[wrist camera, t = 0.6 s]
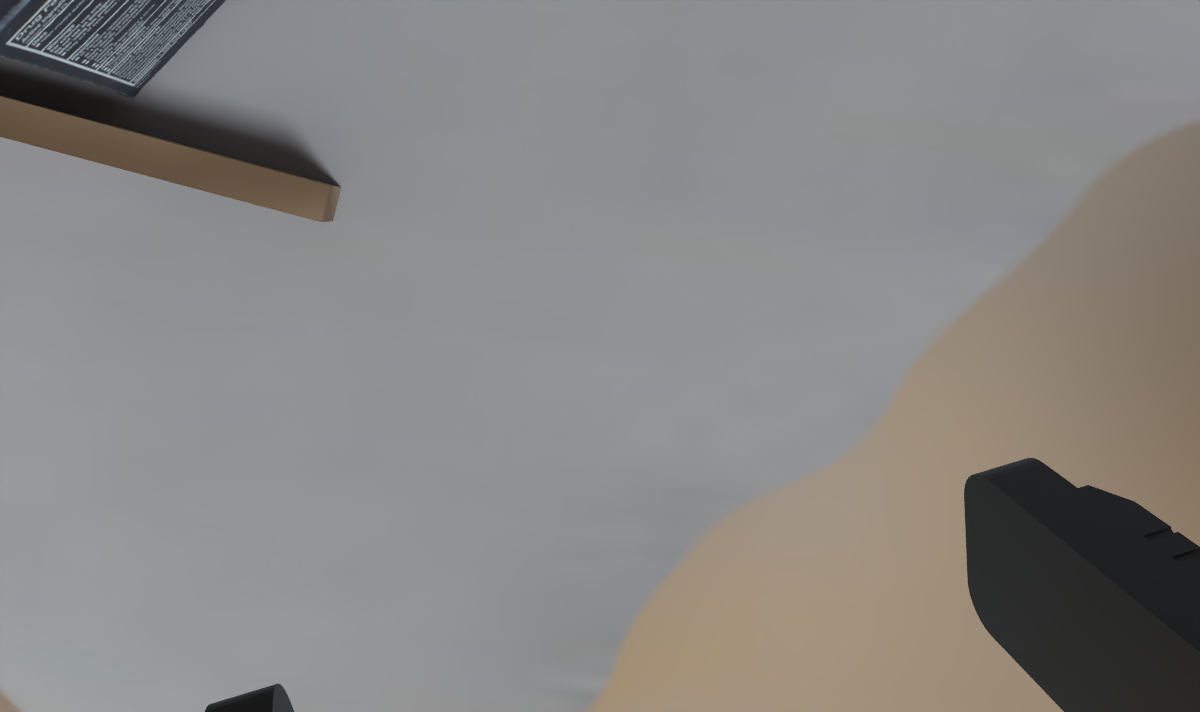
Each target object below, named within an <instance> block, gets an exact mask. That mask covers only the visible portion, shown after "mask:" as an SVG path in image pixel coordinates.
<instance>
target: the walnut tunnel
mask: <svg viewBox="0 0 1200 712" xmlns="http://www.w3.org/2000/svg"><path fill="white" fill-rule="evenodd" d="M0 137H4V138H7V139H11V140H15V141H19V142H22V143H26V144H30V145H34V146H37V147H41V148H45V149H49V150H52V151H56V152H60V153H64V154H67V155H71V156H75V157H79V158H82V159H86V160H90V161H94V162H97V163H101V164H105V165H109V166H113V167H116V168H120V169H124V170H128V171H131V172H135V173H139V174H143V175H146V176H150V177H154V178H158V179H161V180H165V181H169V182H173V183H176V184H180V185H184V186H188V187H191V188H195V189H199V190H203V191H206V192H210V193H214V194H218V195H222V196H225V197H229V198H233V199H237V200H240V201H244V202H248V203H252V204H255V205H259V206H263V207H267V208H270V209H274V210H278V211H282V212H285V213H289V214H293V215H297V216H300V217H304V218H308V219H312V220H315V221H319V222H327V221H333V218H334V214H335V210H336V206H337V202H338V197H339V193H340V189H341V187H339V186H335V185H331V184H328V183H324V182H320V181H317V180H313V179H309V178H306V177H302V176H298V175H295V174H291V173H287V172H284V171H280V170H276V169H272V168H269V167H265V166H261V165H258V164H254V163H250V162H247V161H243V160H239V159H236V158H232V157H228V156H225V155H221V154H217V153H214V152H210V151H206V150H202V149H199V148H195V147H191V146H188V145H184V144H180V143H177V142H173V141H169V140H166V139H162V138H158V137H155V136H151V135H147V134H143V133H140V132H136V131H132V130H129V129H125V128H121V127H118V126H114V125H110V124H107V123H103V122H99V121H96V120H92V119H88V118H84V117H81V116H77V115H73V114H70V113H66V112H62V111H59V110H55V109H51V108H48V107H44V106H40V105H37V104H33V103H29V102H26V101H22V100H18V99H14V98H11V97H7V96H3V95H0Z"/></svg>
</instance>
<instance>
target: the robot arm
mask: <svg viewBox="0 0 1200 712" xmlns="http://www.w3.org/2000/svg"><path fill="white" fill-rule="evenodd" d="M964 501H965V525H966V548H967V549H966V550H967V573H968V587H969V591H970V596H971V599H972V602H973V605H974V607H975V610H976V612H977V614H978V616H979V618H980V620H981V622H982V623H983V625H984V627H985V628H986V629H987V631H988V632H989V633H990V634H991V636H992V637H993V638H994V639H995V640H996V641H997V642H998V643H999V644H1000V645H1001V646H1002V647H1003V648H1004V649H1005V650H1006V651H1007V652H1008V653H1009V654H1010V655H1011V656H1012V658H1013V659H1014V660H1015V661H1016V662H1017V663H1018V664H1019V665H1020V666H1021V667H1022V668H1023V669H1024V670H1025V671H1026V672H1027V673H1028V674H1029V675H1030V677H1032V679H1033V680H1034V681H1035V682H1036V683H1037V684H1038V685H1039V686H1040V687H1041V688H1042V689H1043V690H1044V691H1045V692H1046V693H1047V694H1048V695H1049V696H1050V697H1051V698H1052V700H1053V701H1054V702H1055V703H1056V704H1057V705H1058V706H1059V707H1060V708H1061V709H1062V710H1063V711H1064V712H1200V547H1199V546H1198V545H1196V544H1195V543H1193V542H1192V541H1190V540H1189V539H1188V538H1186V537H1185V536H1183V535H1182V534H1180V533H1179V532H1177V533H1173V532H1172V530H1171V527H1170V526H1169V525H1167V524H1166V523H1165V522H1163V521H1162V520H1160V519H1159V518H1157V517H1156V516H1155V515H1153V514H1152V513H1150V512H1149V511H1147V510H1146V509H1144V508H1143V507H1142V506H1140V505H1139V504H1137V503H1135V502H1134V501H1131V500H1128V499H1125V498H1123V497H1120V496H1117V495H1114V494H1112V493H1108V492H1106V491H1103V490H1100V489H1098V488H1095V487H1092V486H1089V485H1087V486H1084V487H1081V488H1077V487H1075V486H1074V485H1072V484H1071V483H1070V482H1068V481H1067V480H1066V479H1064V478H1063V477H1062V476H1060V475H1059V474H1058V473H1056V472H1055V471H1053V470H1052V469H1051V468H1049V467H1048V466H1047V465H1045V464H1044V463H1042V462H1041V461H1039V460H1037V459H1034V458H1027V459H1023V460H1020V461H1017V462H1013V463H1010V464H1007V465H1003V466H1000V467H997V468H994V469H990V470H987V471H984V472H980V473H977V474H974V475H971V476H970V477H969V478H968V479H967V481H966V484H965V489H964ZM205 712H294V710H293V707H292V705H291V702H290V700H289V697H288V695H287V693H286V691H285V689H284V688H283V687H282V686H281V685H280V684H275V685H272V686H269V687H265V688H262V689H259V690H255V691H252V692H249V693H246V694H242V695H239V696H236V697H232V698H229V699H226V700H222V701H219V702H216V703H213V704H210V705H208V706H207V708H206V710H205Z"/></svg>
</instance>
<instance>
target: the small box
mask: <svg viewBox="0 0 1200 712" xmlns="http://www.w3.org/2000/svg"><path fill="white" fill-rule="evenodd" d="M224 2H225V0H0V56H2V57H5V58H8V59H13V60H14V59H15V60H18V61H21V62H25V63H27V64H30V65H36V66H37V67H40V68H43V69H45V70H48V71H52V72H56V73H59V74H63V75H66V76H69V77H71V78H76V79H79V80H81V81H85V82H90V83H92V84H94V85H97V86H100V87H105V88H109V89H110V90H114V91H117V92H118V93H120V94H121V95H124V96H127V97H134V96H135V95H136V94H138V92H139V91H140V90H141V89H142V87H143V86H144V85H145V84H146V83H147V82H148V81H149V80H150V79H151V78H152V77H153V76H154V75H155V74H156V73H157V72H158V71H159V70H160V69H161V68H162V67H163V66H164V65H165V64H166V63H167V62H168V61H169V60H170V58H171V57H172V56H174V55H175V53H176V52H177V51H178V50H179V49H180V48H181V47H182V46H183V45H184V44H185V42H186V41H187V40H188V39H189V38H190V37H191V36H192V35H193V34H194V33H195V32H196V31H197V30H198V29H199V28H201V27H202V26H203V25H204V23H205V22H206V20H207V19H208V18H209V17H210V16H211V15H212V14H213V13H214V12H215V11H216V10H217V9H218V8H219V7H220V6H221V5H222V4H223V3H224Z"/></svg>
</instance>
